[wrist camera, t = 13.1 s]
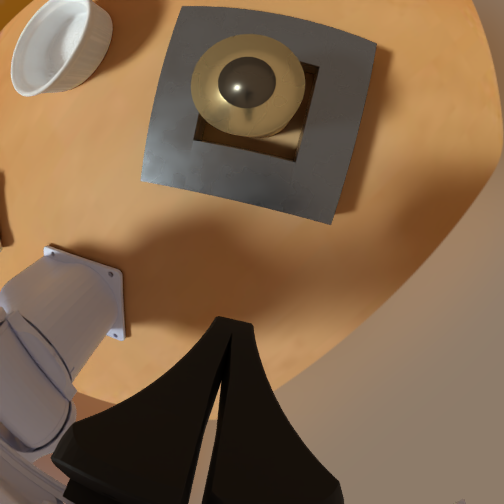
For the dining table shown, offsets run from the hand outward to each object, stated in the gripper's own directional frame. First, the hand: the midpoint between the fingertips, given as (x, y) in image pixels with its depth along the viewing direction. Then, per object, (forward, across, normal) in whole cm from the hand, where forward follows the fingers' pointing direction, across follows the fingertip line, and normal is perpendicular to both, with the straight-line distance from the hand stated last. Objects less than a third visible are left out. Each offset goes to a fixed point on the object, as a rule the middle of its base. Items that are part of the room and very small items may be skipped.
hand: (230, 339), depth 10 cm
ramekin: (+10, +17, -14) cm, 24 cm away
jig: (+10, +2, -9) cm, 14 cm away
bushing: (+10, +2, -9) cm, 14 cm away
